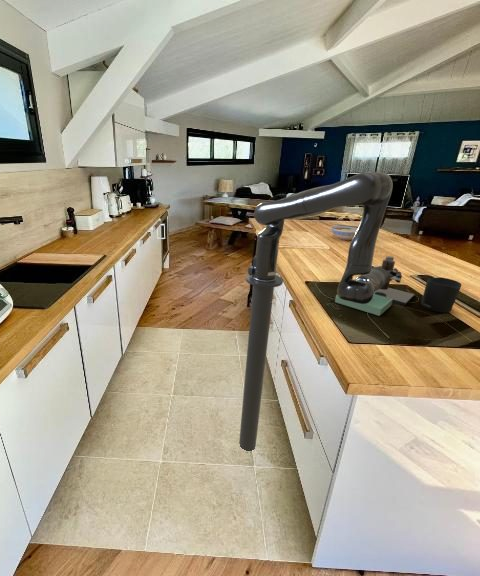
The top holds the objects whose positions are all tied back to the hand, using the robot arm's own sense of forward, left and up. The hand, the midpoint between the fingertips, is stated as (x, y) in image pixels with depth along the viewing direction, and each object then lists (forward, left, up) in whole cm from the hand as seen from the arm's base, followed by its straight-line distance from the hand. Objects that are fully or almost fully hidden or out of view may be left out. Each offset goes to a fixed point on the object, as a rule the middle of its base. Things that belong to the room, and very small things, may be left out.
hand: (388, 269), depth 122 cm
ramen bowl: (-48, +83, -9) cm, 97 cm away
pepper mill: (0, -3, -7) cm, 8 cm away
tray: (-1, -19, -9) cm, 21 cm away
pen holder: (+18, -3, -9) cm, 20 cm away
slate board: (0, -3, -9) cm, 10 cm away
